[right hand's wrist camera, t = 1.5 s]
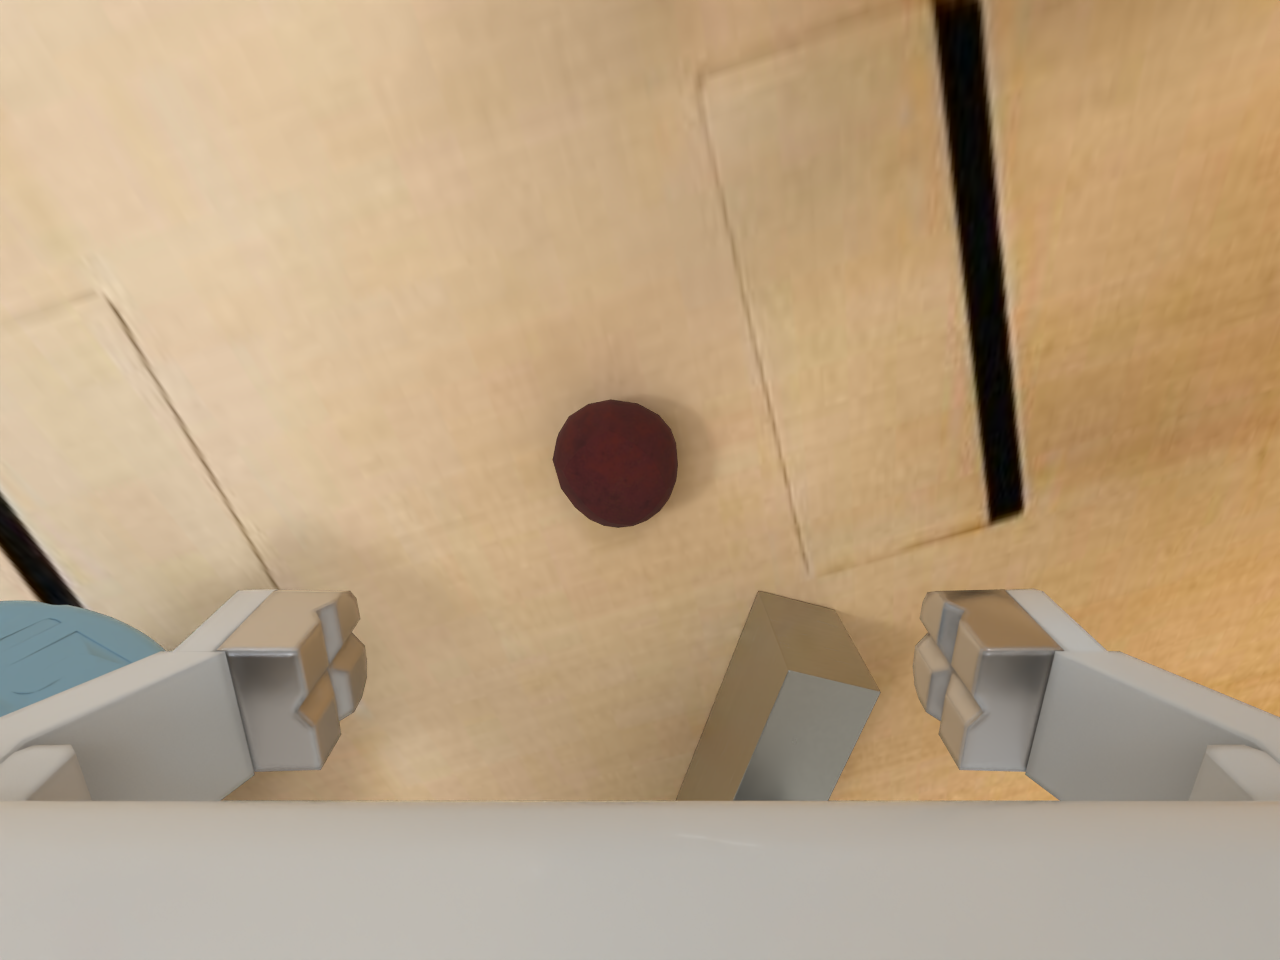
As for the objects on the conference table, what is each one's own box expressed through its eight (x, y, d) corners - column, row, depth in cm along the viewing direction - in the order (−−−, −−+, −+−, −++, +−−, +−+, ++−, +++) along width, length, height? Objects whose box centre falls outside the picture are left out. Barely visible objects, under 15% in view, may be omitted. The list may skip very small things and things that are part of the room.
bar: (758, 590, 50) (788, 670, 41) (835, 609, 51) (881, 692, 42) (649, 866, 59) (654, 982, 50) (716, 879, 59) (733, 996, 51)
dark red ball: (619, 519, 48) (620, 568, 41) (533, 442, 46) (519, 480, 39) (699, 445, 46) (713, 483, 39) (614, 361, 44) (613, 386, 37)
